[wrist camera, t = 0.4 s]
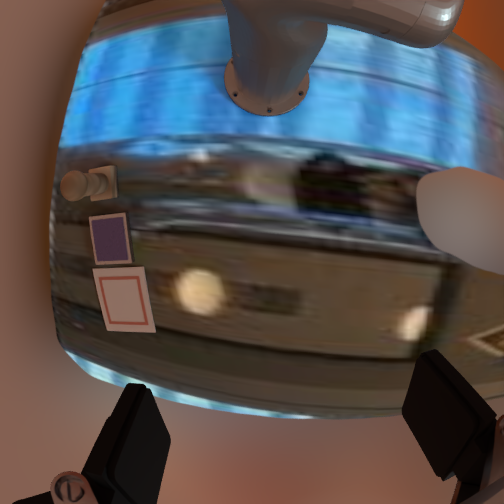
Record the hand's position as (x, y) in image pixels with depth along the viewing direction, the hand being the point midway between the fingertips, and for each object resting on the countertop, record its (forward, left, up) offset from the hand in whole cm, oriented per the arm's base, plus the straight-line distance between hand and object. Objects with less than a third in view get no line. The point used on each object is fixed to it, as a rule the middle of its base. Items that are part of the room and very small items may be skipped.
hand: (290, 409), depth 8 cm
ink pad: (0, -23, -35) cm, 42 cm away
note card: (+11, -23, -35) cm, 43 cm away
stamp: (-9, -23, -35) cm, 43 cm away
